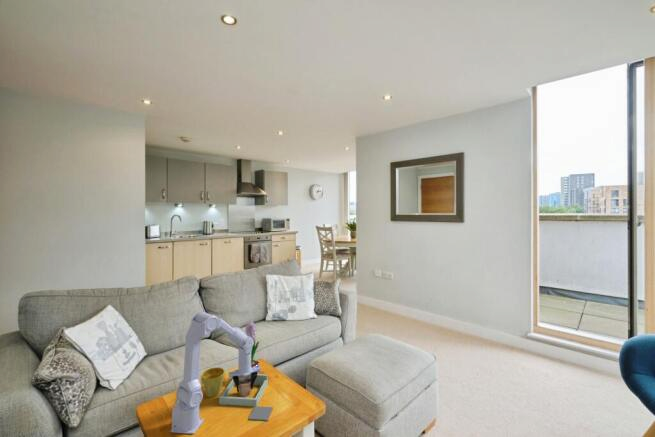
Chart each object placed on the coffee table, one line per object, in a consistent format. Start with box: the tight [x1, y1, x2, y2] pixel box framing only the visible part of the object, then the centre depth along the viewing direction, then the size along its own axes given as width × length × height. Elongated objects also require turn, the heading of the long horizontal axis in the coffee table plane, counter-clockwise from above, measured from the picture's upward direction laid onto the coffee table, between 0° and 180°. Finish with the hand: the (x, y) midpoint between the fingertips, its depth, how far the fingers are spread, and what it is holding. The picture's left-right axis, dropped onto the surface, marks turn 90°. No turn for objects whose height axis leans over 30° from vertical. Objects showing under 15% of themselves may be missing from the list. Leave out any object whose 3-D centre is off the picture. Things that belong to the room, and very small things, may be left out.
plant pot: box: [200, 366, 226, 398], centre depth 140 cm, size 10×10×10 cm
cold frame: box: [218, 373, 269, 407], centre depth 139 cm, size 17×17×5 cm
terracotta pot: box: [238, 378, 251, 398], centre depth 139 cm, size 6×6×6 cm
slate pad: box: [248, 405, 274, 422], centre depth 125 cm, size 8×8×1 cm
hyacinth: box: [244, 320, 260, 374], centre depth 154 cm, size 9×10×30 cm
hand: (244, 389), depth 140 cm, fingers closed on terracotta pot, 6 cm apart
